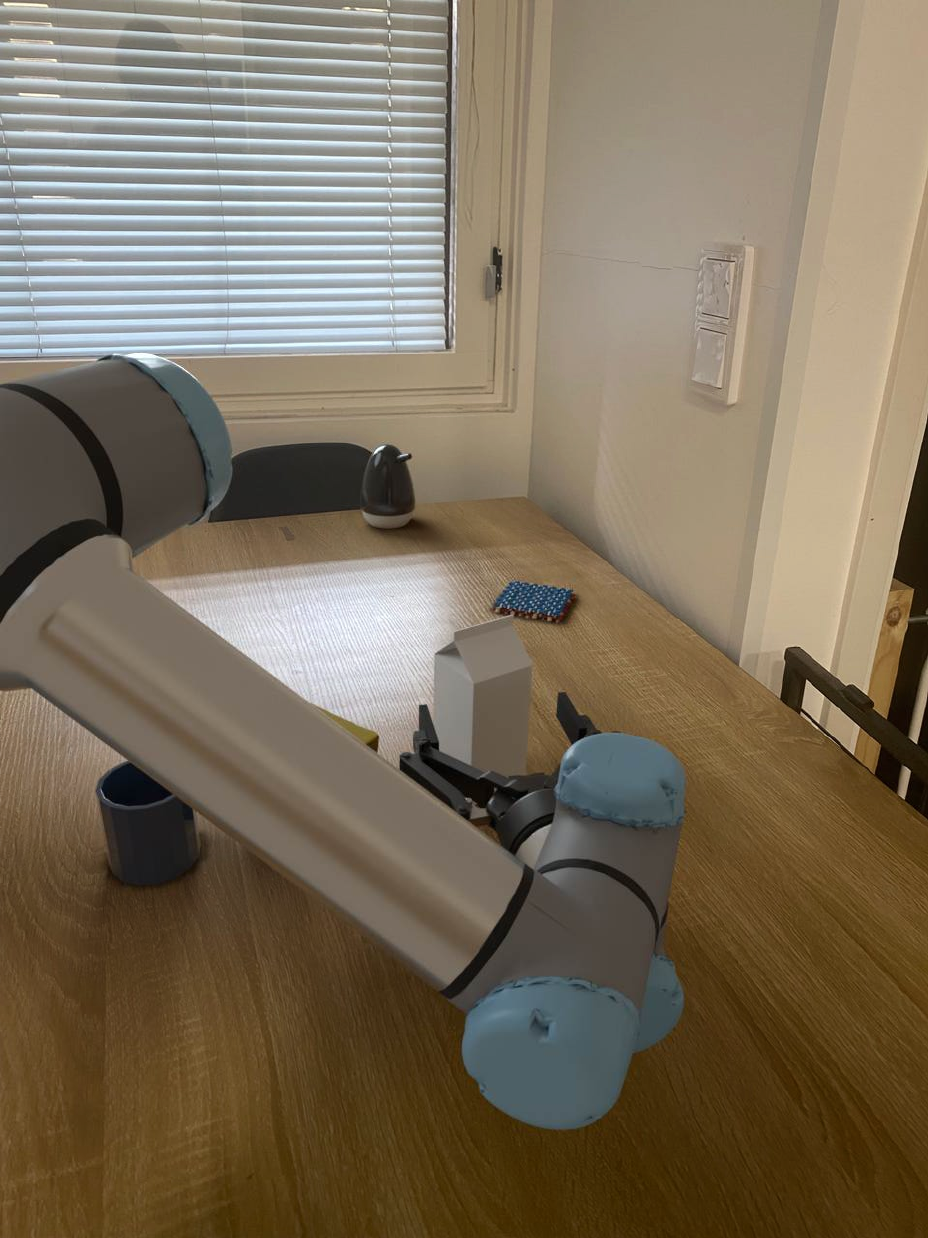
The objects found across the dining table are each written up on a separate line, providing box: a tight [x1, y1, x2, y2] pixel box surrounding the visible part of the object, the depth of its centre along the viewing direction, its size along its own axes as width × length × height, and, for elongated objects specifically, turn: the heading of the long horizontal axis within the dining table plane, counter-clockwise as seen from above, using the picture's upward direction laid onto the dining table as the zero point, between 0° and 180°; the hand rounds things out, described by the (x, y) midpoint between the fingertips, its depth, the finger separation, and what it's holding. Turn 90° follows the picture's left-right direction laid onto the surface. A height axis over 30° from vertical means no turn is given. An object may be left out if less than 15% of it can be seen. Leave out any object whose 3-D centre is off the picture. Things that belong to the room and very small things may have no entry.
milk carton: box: [433, 614, 534, 806], centre depth 93 cm, size 7×7×19 cm
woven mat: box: [492, 580, 576, 623], centre depth 137 cm, size 10×11×2 cm
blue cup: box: [94, 760, 201, 887], centre depth 83 cm, size 8×8×9 cm
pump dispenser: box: [359, 443, 417, 530], centre depth 165 cm, size 10×10×15 cm
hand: (492, 710), depth 87 cm, fingers open, 13 cm apart
